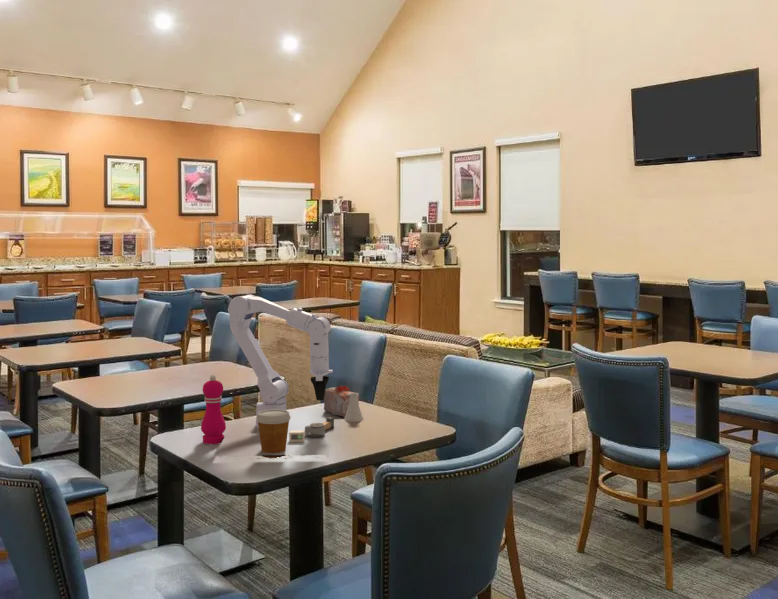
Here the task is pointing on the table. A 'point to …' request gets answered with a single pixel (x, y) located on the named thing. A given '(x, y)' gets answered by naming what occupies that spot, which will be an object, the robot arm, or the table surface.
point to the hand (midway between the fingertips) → (320, 399)
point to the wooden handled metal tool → (319, 428)
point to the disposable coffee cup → (273, 431)
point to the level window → (297, 436)
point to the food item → (337, 400)
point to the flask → (353, 409)
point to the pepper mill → (213, 412)
